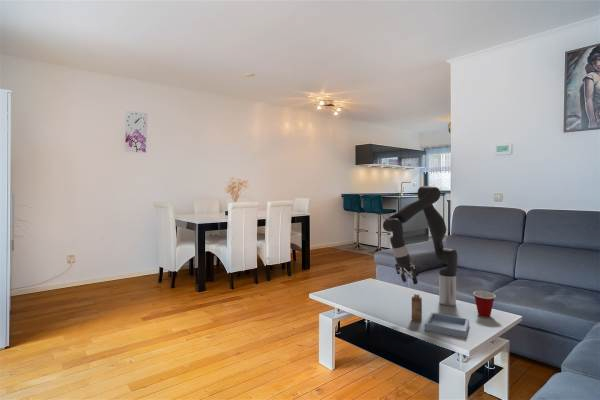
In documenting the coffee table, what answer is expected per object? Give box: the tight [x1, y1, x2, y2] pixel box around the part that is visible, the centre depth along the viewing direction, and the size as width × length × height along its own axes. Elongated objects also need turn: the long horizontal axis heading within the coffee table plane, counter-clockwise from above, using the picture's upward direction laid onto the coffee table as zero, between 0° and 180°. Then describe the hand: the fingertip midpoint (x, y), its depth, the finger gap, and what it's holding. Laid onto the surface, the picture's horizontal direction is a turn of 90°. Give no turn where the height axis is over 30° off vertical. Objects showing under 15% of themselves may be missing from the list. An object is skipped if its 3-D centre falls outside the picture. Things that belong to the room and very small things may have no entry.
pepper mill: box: [411, 293, 423, 323], centre depth 175 cm, size 5×5×14 cm
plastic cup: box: [472, 290, 497, 318], centre depth 182 cm, size 11×11×12 cm
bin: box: [424, 312, 470, 339], centre depth 166 cm, size 18×18×3 cm
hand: (410, 282), depth 180 cm, fingers open, 8 cm apart
